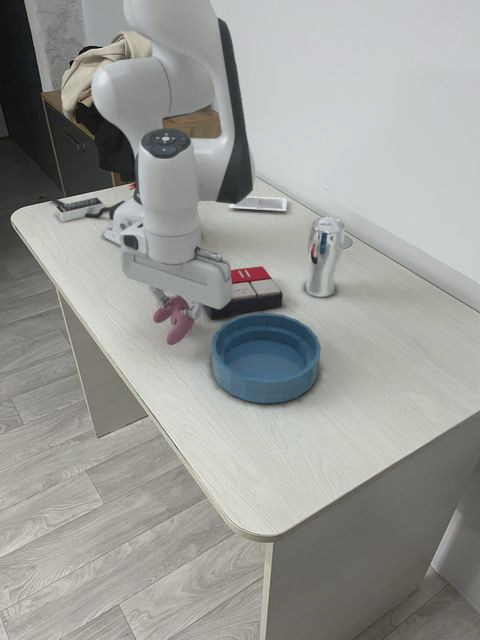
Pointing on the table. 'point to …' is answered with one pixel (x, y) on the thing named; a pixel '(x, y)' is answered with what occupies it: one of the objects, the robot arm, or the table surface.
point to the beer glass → (324, 254)
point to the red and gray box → (249, 293)
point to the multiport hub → (79, 209)
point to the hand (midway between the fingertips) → (178, 311)
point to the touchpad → (261, 203)
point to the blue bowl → (265, 357)
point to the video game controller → (175, 318)
